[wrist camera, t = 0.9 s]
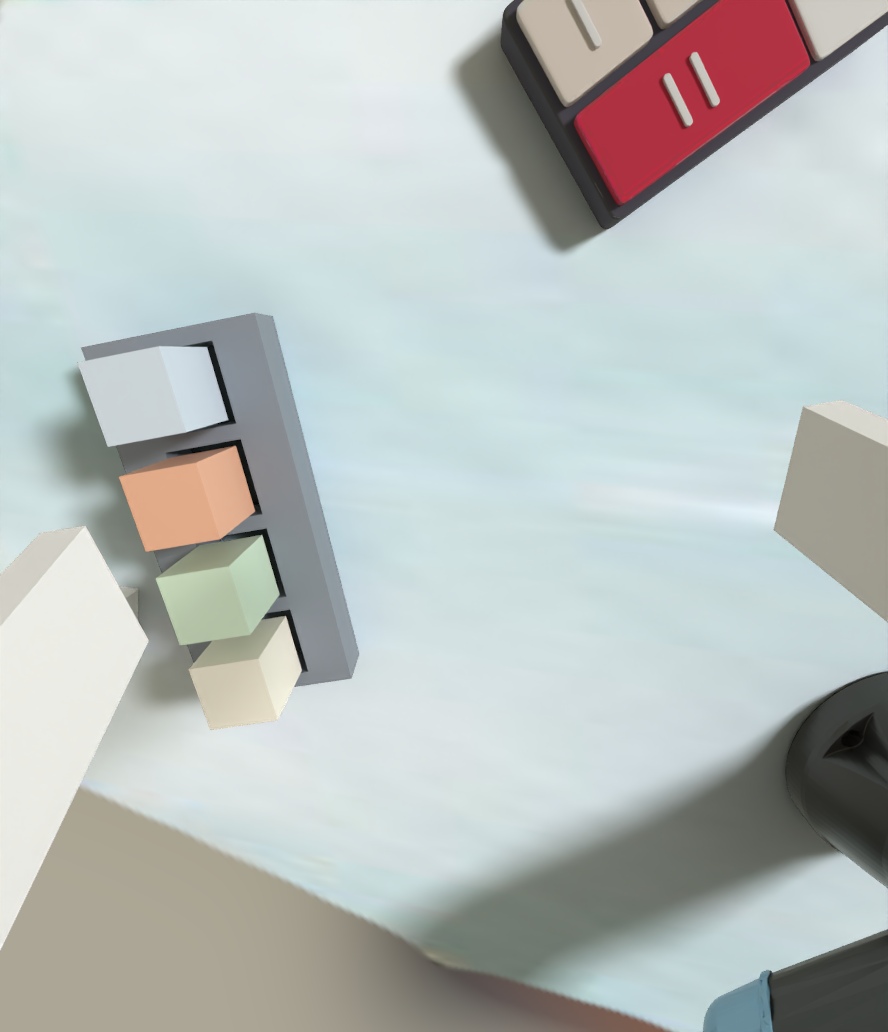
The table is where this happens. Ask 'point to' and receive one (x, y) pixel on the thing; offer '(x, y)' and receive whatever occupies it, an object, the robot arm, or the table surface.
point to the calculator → (667, 79)
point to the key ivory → (247, 675)
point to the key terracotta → (188, 498)
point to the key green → (219, 590)
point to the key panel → (262, 482)
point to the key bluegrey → (153, 393)
